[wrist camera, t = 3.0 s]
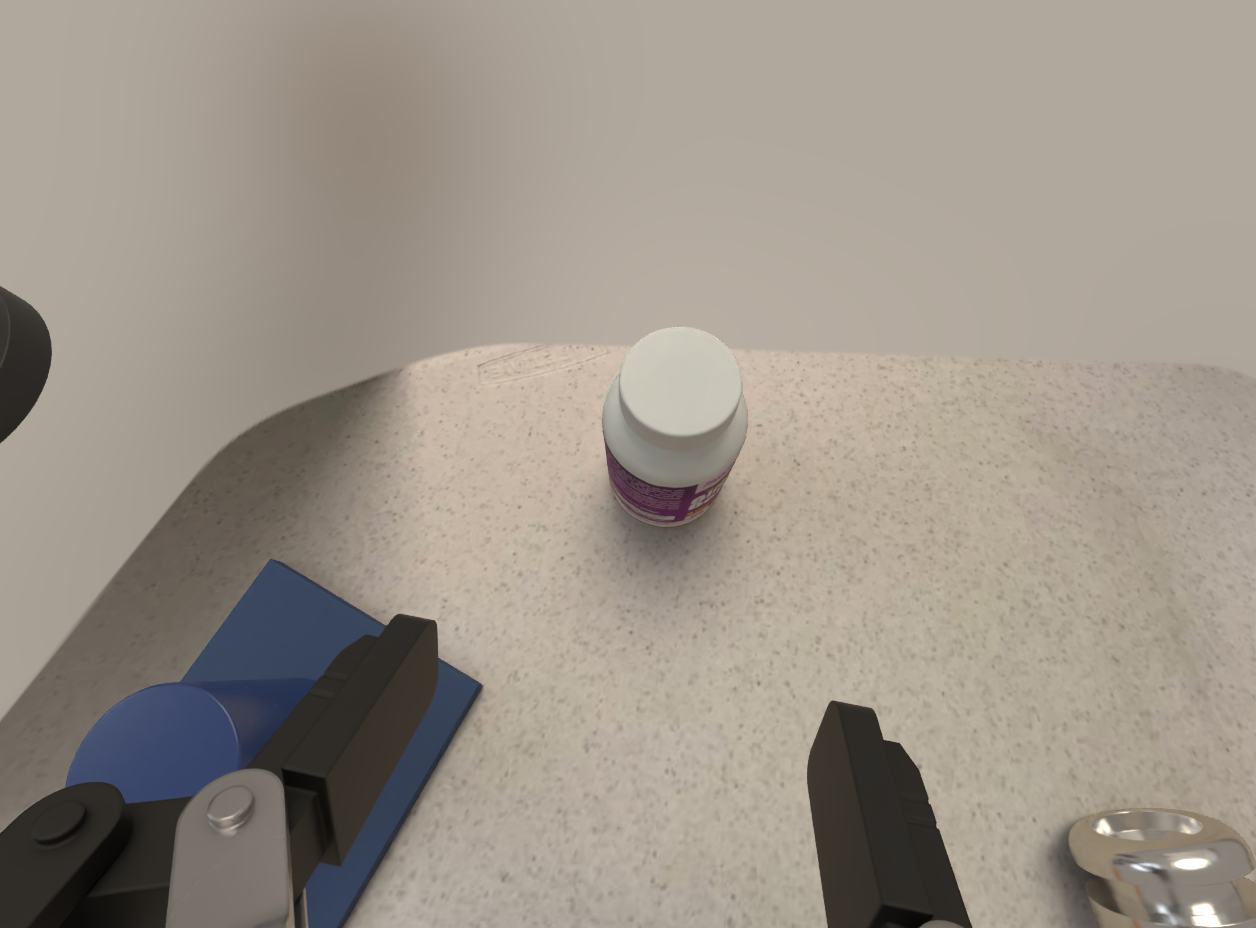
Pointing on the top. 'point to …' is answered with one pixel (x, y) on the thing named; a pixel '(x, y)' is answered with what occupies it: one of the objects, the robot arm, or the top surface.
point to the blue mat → (304, 648)
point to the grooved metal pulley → (1165, 870)
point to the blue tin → (183, 735)
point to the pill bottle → (673, 425)
